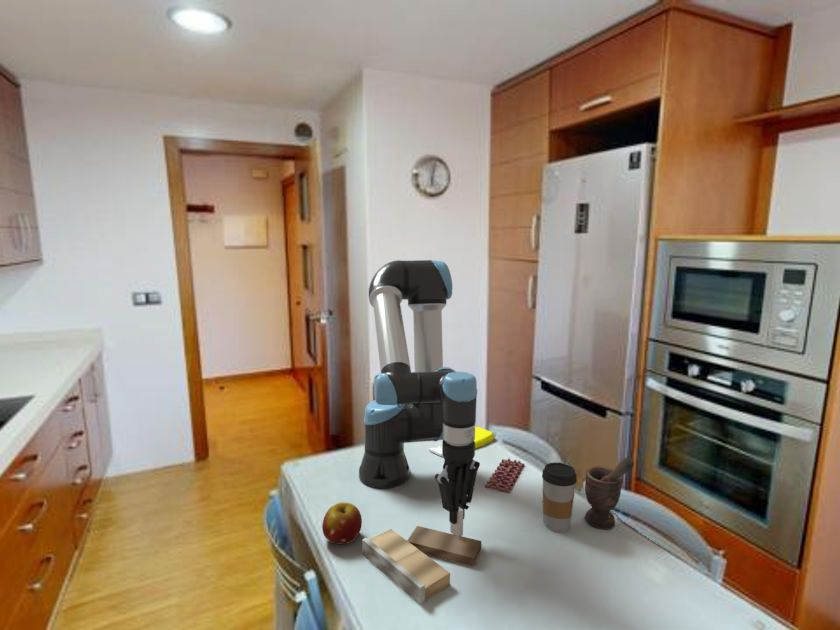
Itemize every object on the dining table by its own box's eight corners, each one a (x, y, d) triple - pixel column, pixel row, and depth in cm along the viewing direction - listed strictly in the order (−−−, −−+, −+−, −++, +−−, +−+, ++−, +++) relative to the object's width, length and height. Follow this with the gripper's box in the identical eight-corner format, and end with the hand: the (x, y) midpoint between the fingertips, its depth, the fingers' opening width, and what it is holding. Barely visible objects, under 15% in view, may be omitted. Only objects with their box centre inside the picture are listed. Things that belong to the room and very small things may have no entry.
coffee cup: (575, 537, 118) (579, 479, 116) (539, 532, 120) (543, 475, 117) (571, 517, 126) (575, 463, 124) (538, 513, 128) (541, 459, 126)
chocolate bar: (524, 466, 155) (525, 461, 155) (509, 495, 138) (509, 488, 138) (502, 462, 158) (503, 456, 158) (484, 489, 141) (485, 482, 141)
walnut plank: (406, 551, 113) (406, 541, 113) (416, 535, 119) (417, 525, 119) (473, 568, 107) (474, 558, 107) (481, 550, 113) (481, 541, 113)
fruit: (343, 555, 111) (343, 523, 109) (314, 542, 115) (313, 511, 114) (369, 534, 119) (369, 503, 117) (341, 522, 123) (340, 493, 122)
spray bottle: (496, 441, 174) (448, 463, 157) (473, 431, 182) (425, 452, 165) (497, 433, 173) (448, 454, 157) (473, 424, 181) (425, 443, 165)
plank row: (362, 553, 111) (362, 539, 111) (391, 539, 117) (391, 525, 116) (420, 604, 96) (420, 587, 96) (449, 585, 102) (450, 569, 101)
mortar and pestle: (635, 525, 123) (641, 450, 120) (625, 541, 117) (631, 463, 114) (589, 508, 131) (594, 438, 127) (577, 523, 124) (582, 449, 121)
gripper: (450, 453, 106) (448, 552, 110) (489, 437, 114) (486, 529, 118) (426, 442, 111) (425, 537, 115) (466, 427, 120) (463, 516, 124)
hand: (456, 533), depth 117 cm, fingers closed
